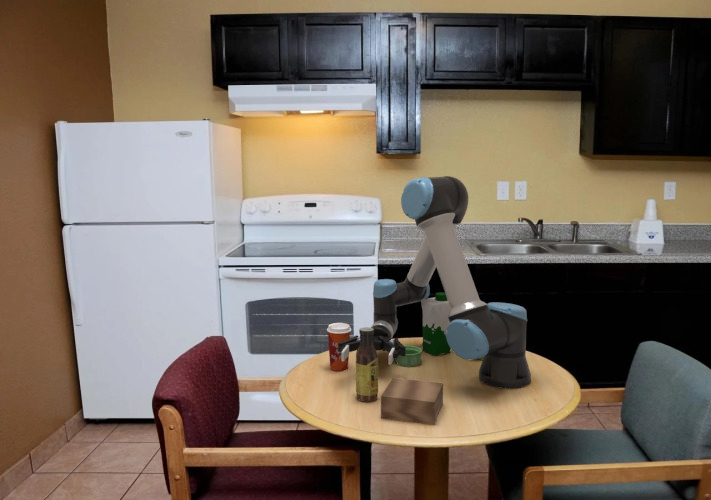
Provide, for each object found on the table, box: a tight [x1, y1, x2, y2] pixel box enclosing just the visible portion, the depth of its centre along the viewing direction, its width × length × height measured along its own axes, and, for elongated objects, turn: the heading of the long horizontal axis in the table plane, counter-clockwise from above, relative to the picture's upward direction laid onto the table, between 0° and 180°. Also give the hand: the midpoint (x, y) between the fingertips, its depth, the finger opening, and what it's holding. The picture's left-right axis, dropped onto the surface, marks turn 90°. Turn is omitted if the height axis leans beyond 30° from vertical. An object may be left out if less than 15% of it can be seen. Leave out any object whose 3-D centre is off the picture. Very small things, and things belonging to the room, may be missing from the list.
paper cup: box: [326, 322, 352, 372], centre depth 190 cm, size 8×8×14 cm
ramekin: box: [395, 345, 423, 367], centre depth 195 cm, size 9×9×4 cm
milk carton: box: [420, 291, 452, 357], centre depth 204 cm, size 9×9×20 cm
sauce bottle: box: [355, 327, 379, 402], centre depth 166 cm, size 7×6×20 cm
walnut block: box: [380, 377, 444, 426], centre depth 158 cm, size 14×13×6 cm
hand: (365, 358), depth 169 cm, fingers open, 13 cm apart
